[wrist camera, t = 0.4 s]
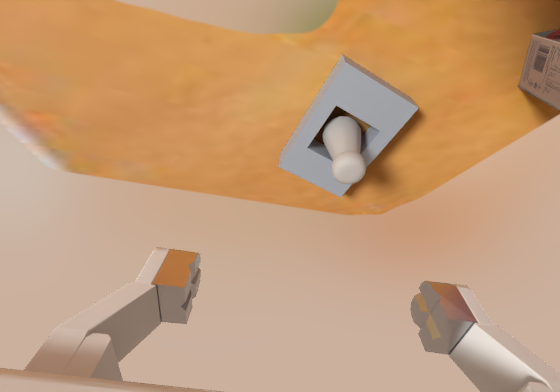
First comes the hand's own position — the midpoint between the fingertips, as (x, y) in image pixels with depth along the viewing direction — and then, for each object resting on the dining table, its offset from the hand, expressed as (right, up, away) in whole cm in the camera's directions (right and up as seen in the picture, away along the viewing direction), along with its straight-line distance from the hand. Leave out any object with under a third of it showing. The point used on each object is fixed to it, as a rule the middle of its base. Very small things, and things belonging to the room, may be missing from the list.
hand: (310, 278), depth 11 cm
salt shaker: (+8, +14, +36) cm, 40 cm away
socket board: (+8, +14, +36) cm, 40 cm away
